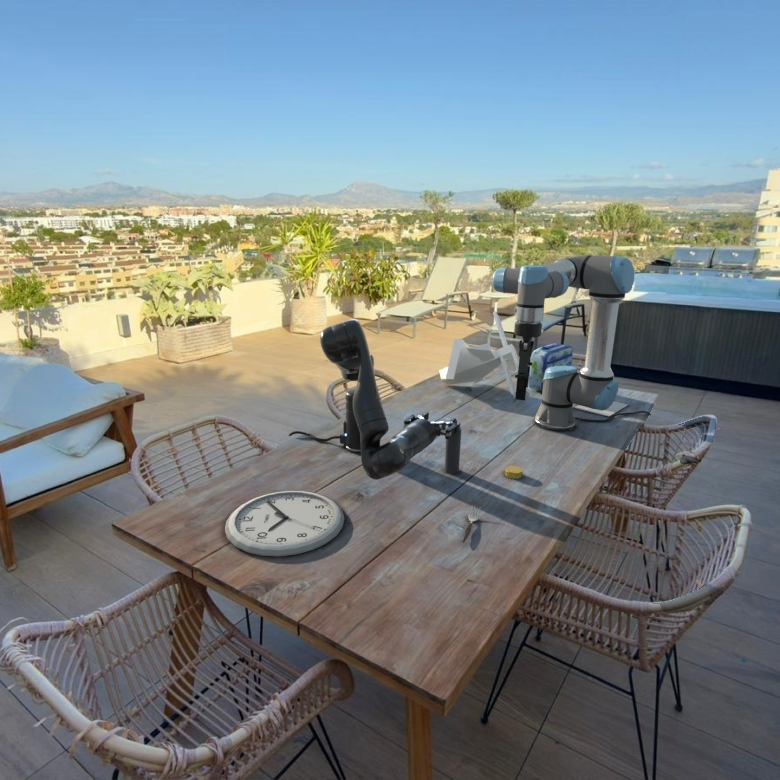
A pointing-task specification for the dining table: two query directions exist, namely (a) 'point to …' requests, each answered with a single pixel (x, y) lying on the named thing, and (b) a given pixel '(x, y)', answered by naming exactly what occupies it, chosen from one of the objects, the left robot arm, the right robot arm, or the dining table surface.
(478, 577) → the dining table surface
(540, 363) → the lunch box
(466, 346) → the white plastic object
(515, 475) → the lid
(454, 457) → the dark grey cylinder
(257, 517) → the wall clock
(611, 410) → the invitation card
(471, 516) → the fork
